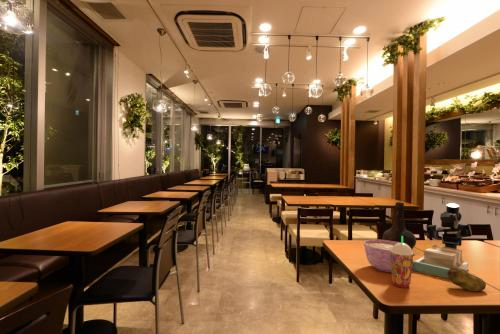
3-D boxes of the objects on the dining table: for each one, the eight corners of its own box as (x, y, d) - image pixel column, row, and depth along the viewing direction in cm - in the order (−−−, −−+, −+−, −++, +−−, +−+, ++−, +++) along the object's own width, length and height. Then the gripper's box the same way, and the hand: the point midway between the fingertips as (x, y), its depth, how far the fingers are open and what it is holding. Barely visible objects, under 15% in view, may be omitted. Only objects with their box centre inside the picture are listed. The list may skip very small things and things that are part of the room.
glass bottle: (396, 255, 167) (397, 204, 167) (375, 247, 185) (376, 200, 184) (423, 254, 171) (424, 204, 171) (400, 245, 189) (401, 200, 189)
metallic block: (434, 261, 159) (434, 245, 159) (461, 267, 150) (462, 250, 150) (423, 267, 148) (424, 250, 148) (452, 274, 139) (453, 256, 139)
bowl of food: (418, 276, 135) (419, 250, 135) (375, 276, 134) (375, 250, 133) (394, 262, 155) (395, 239, 155) (356, 262, 153) (356, 239, 153)
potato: (487, 296, 115) (488, 275, 115) (447, 288, 122) (447, 268, 122) (485, 289, 122) (485, 269, 122) (446, 282, 129) (447, 263, 129)
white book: (426, 260, 160) (426, 252, 160) (468, 268, 147) (468, 260, 147) (411, 269, 144) (411, 261, 144) (456, 280, 131) (456, 271, 131)
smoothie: (385, 281, 128) (387, 233, 128) (404, 281, 129) (405, 233, 129) (397, 289, 120) (398, 238, 120) (417, 289, 121) (418, 238, 121)
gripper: (427, 212, 169) (420, 223, 158) (468, 209, 156) (463, 221, 145) (433, 230, 170) (426, 243, 158) (473, 229, 157) (469, 243, 145)
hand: (445, 237), depth 152 cm, fingers open, 9 cm apart
